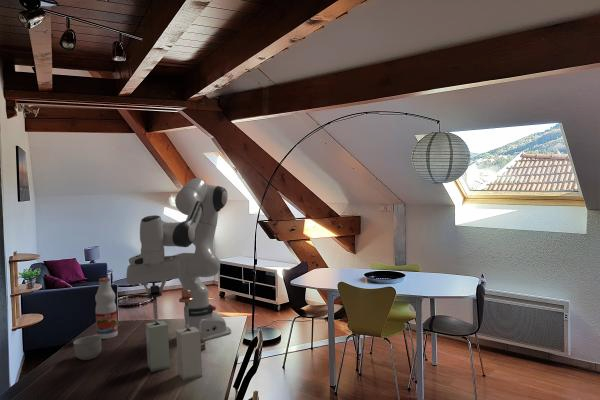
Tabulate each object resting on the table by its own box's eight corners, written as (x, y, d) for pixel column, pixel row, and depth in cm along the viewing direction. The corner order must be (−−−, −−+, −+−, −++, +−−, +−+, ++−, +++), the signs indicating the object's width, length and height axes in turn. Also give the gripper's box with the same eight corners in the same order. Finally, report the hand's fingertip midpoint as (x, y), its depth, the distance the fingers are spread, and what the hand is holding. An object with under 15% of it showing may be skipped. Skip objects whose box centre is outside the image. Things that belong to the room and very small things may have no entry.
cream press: (196, 370, 187) (194, 326, 186) (202, 376, 181) (199, 331, 180) (178, 374, 184) (176, 329, 183) (183, 381, 178) (181, 334, 177)
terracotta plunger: (193, 336, 185) (190, 288, 185) (197, 339, 181) (194, 290, 180) (179, 338, 183) (177, 290, 182) (183, 342, 178) (180, 292, 178)
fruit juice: (117, 332, 242) (114, 275, 241) (118, 337, 234) (115, 279, 233) (97, 335, 239) (93, 278, 238) (96, 340, 230) (93, 281, 229)
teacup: (91, 362, 201) (90, 343, 200) (68, 362, 203) (67, 342, 203) (111, 351, 214) (110, 332, 214) (89, 350, 216) (88, 332, 216)
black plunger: (162, 329, 196) (159, 284, 195) (165, 333, 191) (162, 286, 190) (148, 332, 193) (146, 286, 193) (151, 335, 189) (149, 288, 188)
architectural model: (206, 351, 210) (205, 334, 209) (190, 355, 206) (189, 337, 206) (204, 349, 213) (203, 332, 212) (188, 352, 209) (187, 335, 209)
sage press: (165, 362, 197) (163, 320, 197) (169, 367, 191) (167, 324, 191) (147, 366, 194) (145, 323, 193) (151, 371, 188) (149, 327, 187)
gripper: (177, 253, 199) (179, 287, 199) (124, 259, 189) (126, 295, 190) (181, 255, 193) (183, 290, 194) (127, 261, 184) (129, 298, 184)
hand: (154, 292), depth 192 cm, fingers closed on black plunger, 3 cm apart
